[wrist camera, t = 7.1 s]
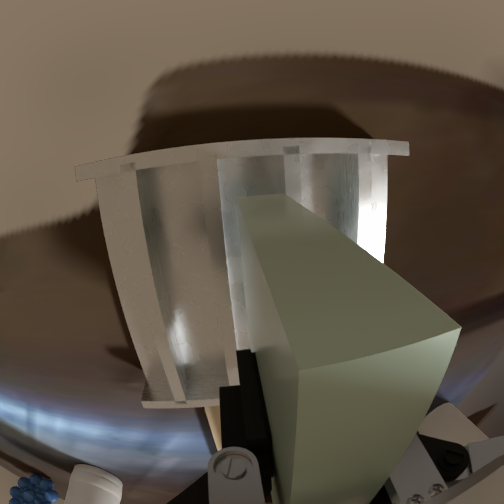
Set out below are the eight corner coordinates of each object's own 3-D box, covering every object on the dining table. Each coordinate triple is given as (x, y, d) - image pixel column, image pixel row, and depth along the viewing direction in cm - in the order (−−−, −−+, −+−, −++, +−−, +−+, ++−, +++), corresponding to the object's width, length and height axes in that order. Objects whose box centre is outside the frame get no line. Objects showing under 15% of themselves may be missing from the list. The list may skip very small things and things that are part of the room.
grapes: (31, 478, 30) (18, 520, 19) (12, 461, 28) (-4, 505, 17) (73, 491, 31) (63, 539, 20) (54, 475, 29) (40, 526, 18)
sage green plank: (284, 193, 12) (461, 327, 3) (287, 398, 16) (330, 546, 7) (235, 197, 12) (299, 371, 2) (255, 403, 16) (283, 556, 7)
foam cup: (409, 418, 29) (452, 489, 17) (463, 383, 29) (511, 442, 17) (408, 445, 33) (441, 504, 20) (455, 415, 32) (492, 468, 20)
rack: (375, 140, 18) (408, 140, 14) (361, 348, 23) (381, 377, 20) (102, 160, 16) (74, 164, 12) (152, 374, 22) (144, 409, 18)
